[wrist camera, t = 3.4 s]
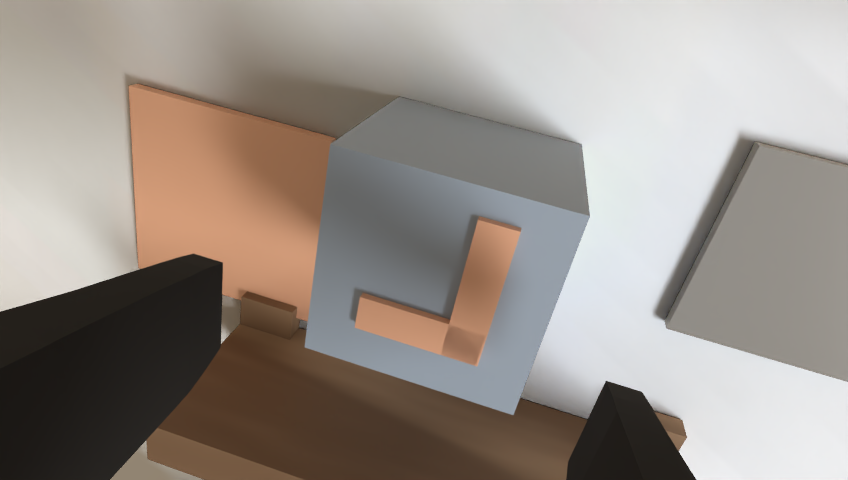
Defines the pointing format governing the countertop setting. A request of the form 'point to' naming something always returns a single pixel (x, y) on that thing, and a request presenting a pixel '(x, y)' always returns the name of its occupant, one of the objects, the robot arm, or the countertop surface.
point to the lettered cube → (445, 248)
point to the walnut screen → (348, 419)
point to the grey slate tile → (775, 265)
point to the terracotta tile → (228, 193)
